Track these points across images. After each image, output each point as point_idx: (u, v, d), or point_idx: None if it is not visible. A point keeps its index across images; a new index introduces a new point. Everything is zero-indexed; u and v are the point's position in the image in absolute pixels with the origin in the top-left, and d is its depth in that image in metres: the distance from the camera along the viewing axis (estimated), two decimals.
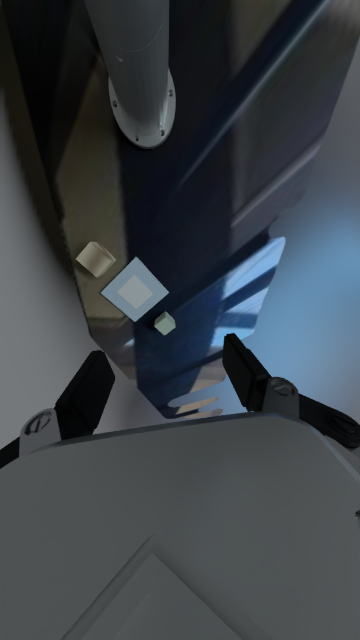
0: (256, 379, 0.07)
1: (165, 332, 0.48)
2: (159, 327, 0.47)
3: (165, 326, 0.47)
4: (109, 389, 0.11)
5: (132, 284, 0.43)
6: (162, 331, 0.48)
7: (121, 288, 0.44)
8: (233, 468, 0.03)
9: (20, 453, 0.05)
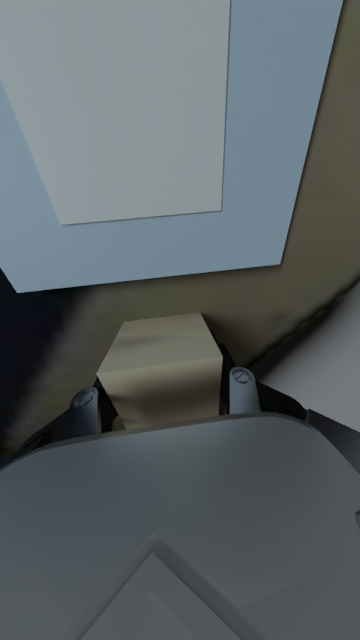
0: None
1: None
2: None
3: None
4: None
5: (106, 176, 0.06)
6: None
7: (182, 206, 0.07)
8: (233, 469, 0.03)
9: (67, 420, 0.06)
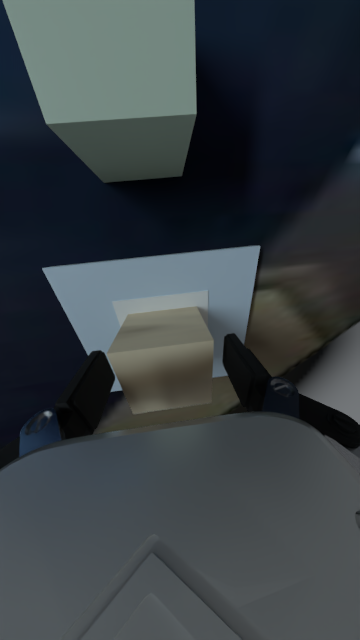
0: (256, 379, 0.07)
1: None
2: (162, 37, 0.04)
3: None
4: (109, 389, 0.11)
5: None
6: None
7: None
8: (233, 468, 0.03)
9: (20, 453, 0.05)
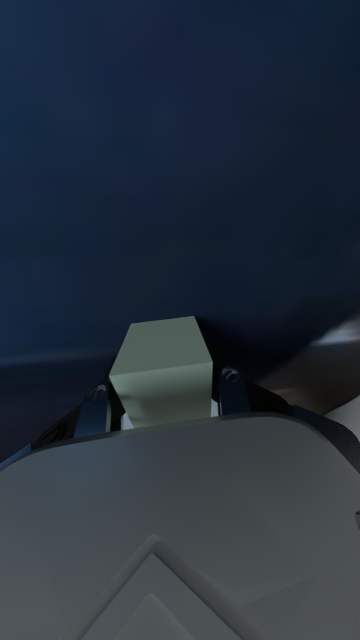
0: None
1: (191, 374, 0.07)
2: (195, 407, 0.08)
3: (164, 400, 0.08)
4: None
5: None
6: (201, 386, 0.08)
7: None
8: (233, 468, 0.03)
9: (79, 414, 0.06)
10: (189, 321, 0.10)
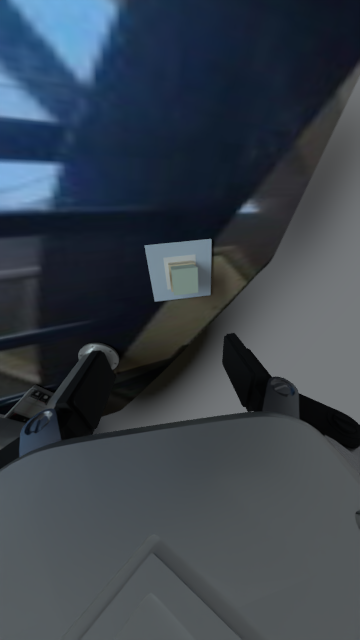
0: (256, 379, 0.07)
1: (192, 271, 0.27)
2: (193, 286, 0.28)
3: (184, 281, 0.28)
4: (109, 389, 0.11)
5: None
6: (194, 276, 0.27)
7: None
8: (233, 468, 0.03)
9: (19, 453, 0.05)
10: (191, 264, 0.30)
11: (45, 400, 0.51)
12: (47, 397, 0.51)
